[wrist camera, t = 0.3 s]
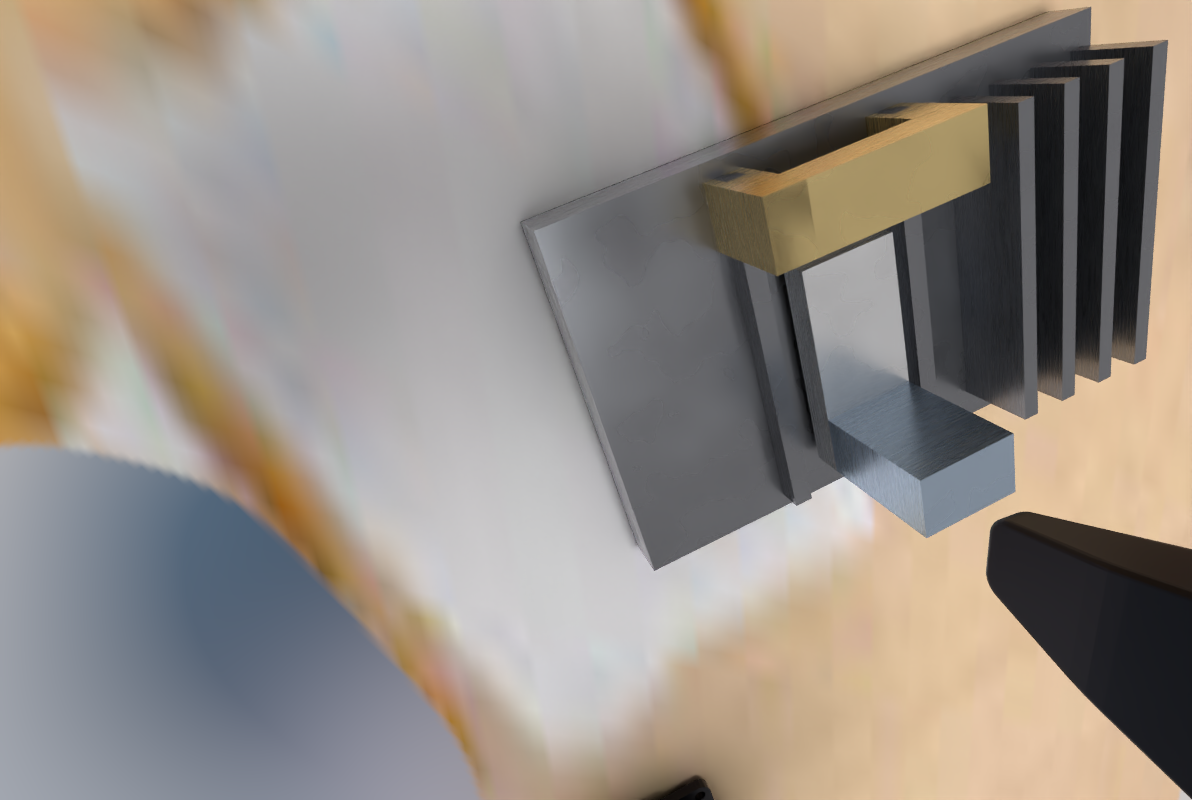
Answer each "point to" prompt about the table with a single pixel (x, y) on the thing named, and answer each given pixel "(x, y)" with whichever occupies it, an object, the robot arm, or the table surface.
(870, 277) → the grey block
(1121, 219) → the heatsink
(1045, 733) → the table surface
